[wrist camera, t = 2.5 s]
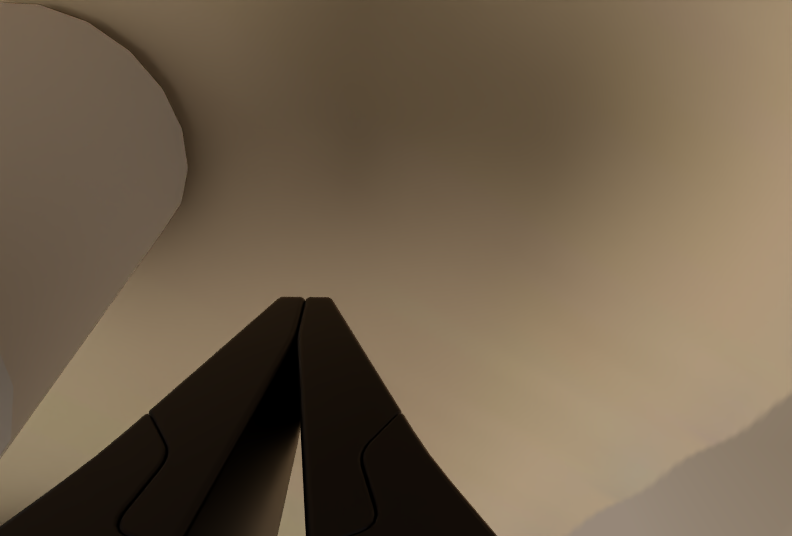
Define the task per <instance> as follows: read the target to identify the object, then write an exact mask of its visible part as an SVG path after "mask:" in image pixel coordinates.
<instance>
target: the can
mask: <svg viewBox="0 0 792 536" xmlns="http://www.w3.org/2000/svg"><path fill="white" fill-rule="evenodd" d="M187 171H188V165H187V159H186V152H185V145H184V139H183V132H182V128H181V126H180V124H179V122H178V120H177V118H176V116H175V114H174V112H173V110H172V108H171V105H170V103H169V101H168V99H167V97H166V95H165V93H164V91H163V89H162V88H161V87H160V85H159V84H158V83H157V82H156V81H155V80H154V79H153V77H152V76H151V75H150V74H149V73H148V72H147V70H146V69H145V68H144V67H143V66H142V65H141V63H140V62H139V61H138V60H137V59H136V58H135V57H134V55H133V54H132V53H131V52H130V51H129V50H127V49H126V48H124V47H123V46H121V45H120V44H119V43H117V42H116V41H114V40H113V39H111V38H110V37H108V36H107V35H106V34H104V33H103V32H101V31H100V30H98V29H97V28H95V27H94V26H93V25H91V24H90V23H88V22H86V21H84V20H81V19H78V18H75V17H72V16H70V15H67V14H64V13H61V12H58V11H56V10H53V9H50V8H47V7H44V6H42V5H39V4H19V3H0V458H1V457H2V456H3V454H4V453H5V451H6V450H7V449H8V447H9V446H10V444H11V443H12V442H13V440H14V439H15V437H16V436H17V435H18V433H19V432H20V430H21V429H22V428H23V426H24V425H25V423H26V422H27V421H28V419H29V418H30V416H31V415H32V414H33V412H34V411H35V409H36V408H37V407H38V405H39V404H40V402H41V401H42V400H43V398H44V397H45V395H46V394H47V393H48V391H49V390H50V388H51V387H52V386H53V384H54V383H55V381H56V380H57V379H58V377H59V376H60V374H61V373H62V372H63V370H64V369H65V367H66V366H67V365H68V363H69V362H70V360H71V359H72V358H73V356H74V355H75V353H76V352H77V351H78V349H79V348H80V346H81V345H82V344H83V342H84V341H85V339H86V338H87V337H88V335H89V334H90V332H91V331H92V330H93V328H94V327H95V325H96V324H97V323H98V321H99V320H100V318H101V317H102V316H103V314H104V313H105V311H106V310H107V309H108V307H109V306H110V304H111V303H112V302H113V300H114V299H115V297H116V296H117V295H118V293H119V292H120V290H121V289H122V288H123V286H124V285H125V283H126V282H127V281H128V279H129V278H130V276H131V275H132V274H133V272H134V271H135V269H136V268H137V267H138V265H139V264H140V262H141V261H142V260H143V258H144V257H145V255H146V254H147V253H148V251H149V250H150V248H151V247H152V246H153V244H154V243H155V241H156V240H157V239H158V237H159V236H160V234H161V233H162V232H163V230H164V229H165V227H166V226H167V224H168V223H169V221H170V219H171V218H172V216H173V215H174V213H175V212H176V210H177V209H178V207H179V206H180V204H181V201H182V196H183V191H184V186H185V181H186V176H187Z"/></svg>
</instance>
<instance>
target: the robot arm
mask: <svg viewBox="0 0 792 536" xmlns="http://www.w3.org/2000/svg"><path fill="white" fill-rule="evenodd" d="M300 428H301V448H302V468H303V488H304V507H305V527H306V536H497V535H496V534H495V533H494V532H493V530H492V529H491V528H490V527H489V526H488V525H487V523H486V522H485V521H484V520H483V519H482V517H481V516H480V515H479V514H478V513H477V512H476V510H475V509H474V508H473V507H472V506H471V504H470V503H469V502H468V501H467V500H466V498H465V497H464V496H463V495H462V494H461V493H460V491H459V490H458V489H457V488H456V487H455V485H454V484H453V483H452V482H451V481H450V479H449V478H448V477H447V476H446V474H445V473H444V472H443V471H442V469H441V468H440V467H439V466H438V464H437V463H436V462H435V461H434V459H433V458H432V457H431V456H430V454H429V453H428V451H427V450H426V448H425V447H424V445H423V444H422V442H421V441H420V439H419V438H418V437H417V435H416V434H415V432H414V431H413V429H412V427H411V426H410V424H409V423H408V421H407V419H406V418H405V416H404V415H403V414H401V410H400V408H399V407H398V405H397V404H396V402H395V400H394V399H393V397H392V395H391V394H390V392H389V391H388V389H387V387H386V386H385V384H384V383H383V381H382V379H381V378H380V376H379V374H378V373H377V371H376V370H375V368H374V366H373V365H372V363H371V362H370V360H369V358H368V357H367V355H366V353H365V352H364V350H363V349H362V347H361V345H360V344H359V342H358V341H357V339H356V337H355V336H354V334H353V332H352V331H351V329H350V328H349V326H348V324H347V323H346V321H345V320H344V318H343V316H342V315H341V313H340V311H339V310H338V308H337V307H336V305H335V303H334V302H333V300H332V299H331V298H329V297H309V298H307V299H306V301H305V299H304V298H302V297H280V298H279V299H277V300H276V301H275V302H274V303H273V304H271V305H270V306H269V307H268V308H267V309H266V310H265V311H263V312H262V313H261V314H260V315H259V316H258V317H257V318H255V319H254V320H253V321H252V322H251V323H250V324H249V325H247V326H246V327H245V328H244V329H243V330H242V331H240V332H239V333H238V334H237V335H236V336H235V337H234V338H232V339H231V340H230V341H229V342H228V343H227V344H226V345H224V346H223V347H222V348H221V349H220V350H219V351H218V352H216V353H215V354H214V355H213V356H212V357H211V358H209V359H208V360H207V361H206V362H205V363H204V364H203V365H201V366H200V367H199V368H198V369H197V370H196V371H195V372H193V373H192V374H191V375H190V376H189V377H188V378H187V379H185V380H184V381H183V382H182V383H181V384H180V385H179V386H177V387H176V388H175V389H174V390H173V391H172V392H170V393H169V394H168V395H167V396H166V397H165V398H164V399H162V400H161V401H160V402H159V403H158V404H157V405H156V406H154V407H153V408H152V409H151V410H150V411H149V415H148V414H145V415H144V416H143V417H141V418H140V419H139V420H138V421H137V422H136V423H135V424H133V425H132V426H131V427H130V428H129V429H128V430H127V431H125V432H124V433H123V434H122V435H121V436H119V437H118V438H117V439H116V440H114V441H113V442H112V443H111V444H110V445H108V446H107V447H106V448H105V449H104V450H102V451H101V452H100V453H99V454H98V455H96V456H95V457H94V458H92V459H91V460H90V461H88V462H87V463H86V464H84V465H83V466H82V467H81V468H79V469H78V470H77V471H75V472H74V473H73V474H71V475H70V476H69V477H67V478H66V479H65V480H63V481H62V482H61V483H59V484H58V485H57V486H55V487H54V488H53V489H51V490H50V491H48V492H47V493H46V494H44V495H43V496H42V497H40V498H39V499H37V500H36V501H35V502H33V503H32V504H31V505H29V506H28V507H26V508H25V509H24V510H22V511H21V512H19V513H18V514H17V515H15V516H14V517H13V518H11V519H10V520H8V521H7V522H6V523H4V524H3V525H2V526H0V536H277V535H278V530H279V526H280V521H281V517H282V512H283V508H284V503H285V498H286V494H287V489H288V485H289V480H290V476H291V471H292V467H293V462H294V458H295V453H296V448H297V444H298V438H299V433H300Z"/></svg>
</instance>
